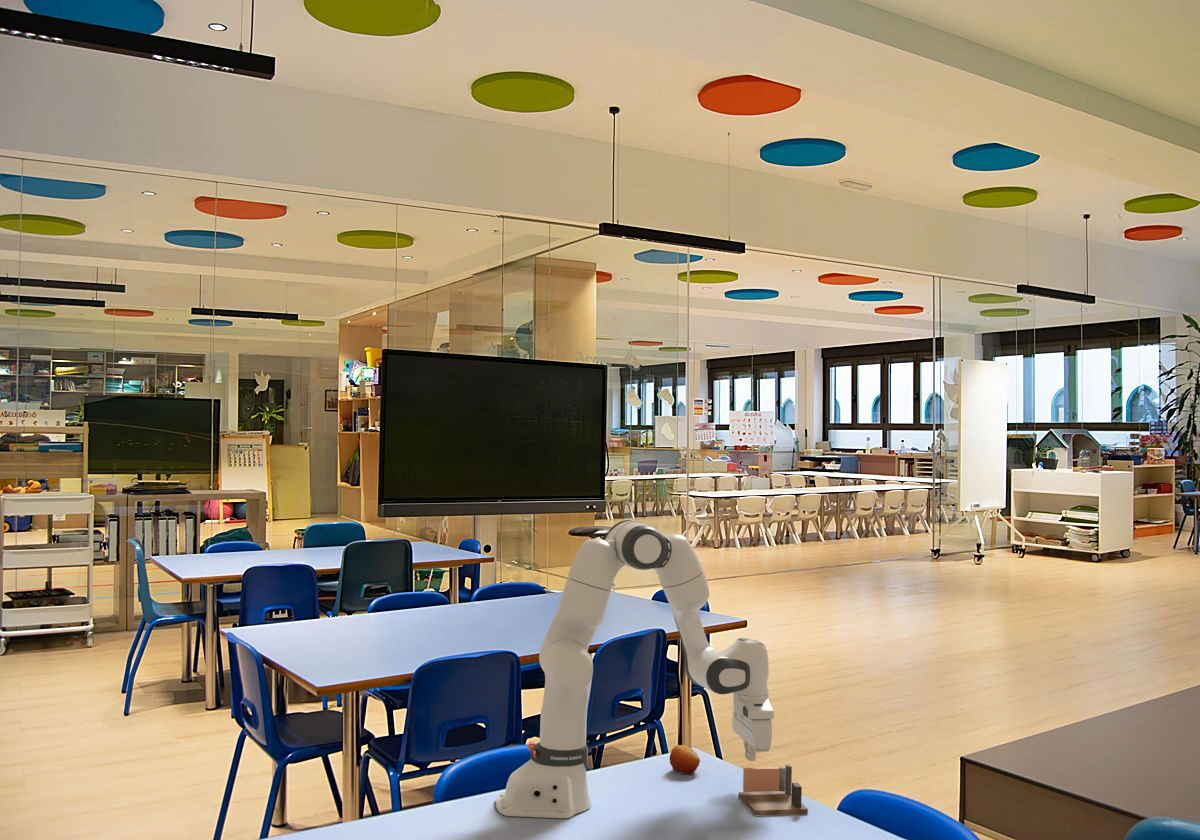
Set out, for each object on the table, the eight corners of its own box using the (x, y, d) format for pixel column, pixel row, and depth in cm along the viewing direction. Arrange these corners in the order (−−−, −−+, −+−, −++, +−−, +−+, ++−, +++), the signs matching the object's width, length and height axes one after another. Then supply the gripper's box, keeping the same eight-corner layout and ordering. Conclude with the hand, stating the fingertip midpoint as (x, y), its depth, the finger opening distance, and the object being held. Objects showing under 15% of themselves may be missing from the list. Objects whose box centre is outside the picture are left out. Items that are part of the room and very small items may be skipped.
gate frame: (755, 815, 225) (755, 780, 225) (738, 797, 237) (739, 764, 237) (807, 814, 227) (808, 779, 227) (788, 795, 239) (789, 763, 240)
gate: (744, 792, 235) (745, 769, 235) (742, 790, 236) (743, 767, 237) (785, 791, 236) (786, 768, 237) (783, 789, 238) (784, 766, 238)
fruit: (660, 762, 259) (675, 736, 260) (684, 777, 259) (699, 751, 260) (665, 771, 251) (681, 745, 252) (690, 787, 251) (706, 760, 252)
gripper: (726, 694, 252) (725, 747, 251) (751, 714, 231) (751, 772, 231) (749, 693, 253) (749, 747, 252) (776, 713, 233) (776, 771, 232)
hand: (750, 759), depth 241 cm, fingers closed
